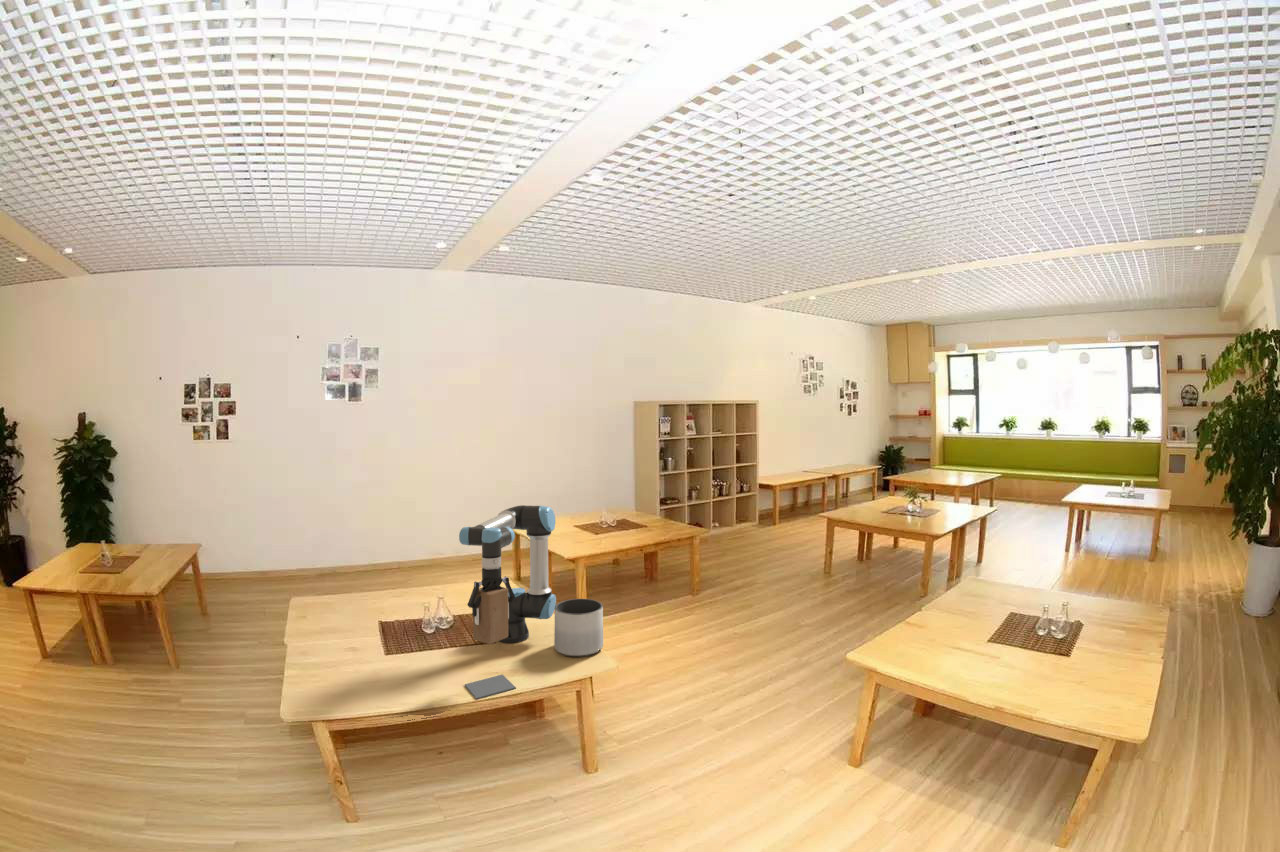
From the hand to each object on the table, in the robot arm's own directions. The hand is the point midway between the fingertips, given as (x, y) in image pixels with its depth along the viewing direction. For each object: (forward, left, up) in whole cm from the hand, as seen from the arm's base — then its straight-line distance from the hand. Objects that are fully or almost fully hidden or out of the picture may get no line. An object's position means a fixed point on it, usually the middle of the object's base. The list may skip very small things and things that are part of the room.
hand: (492, 620), depth 245 cm
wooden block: (-1, 0, -7) cm, 7 cm away
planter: (-14, +47, -27) cm, 56 cm away
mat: (0, -1, -27) cm, 27 cm away
